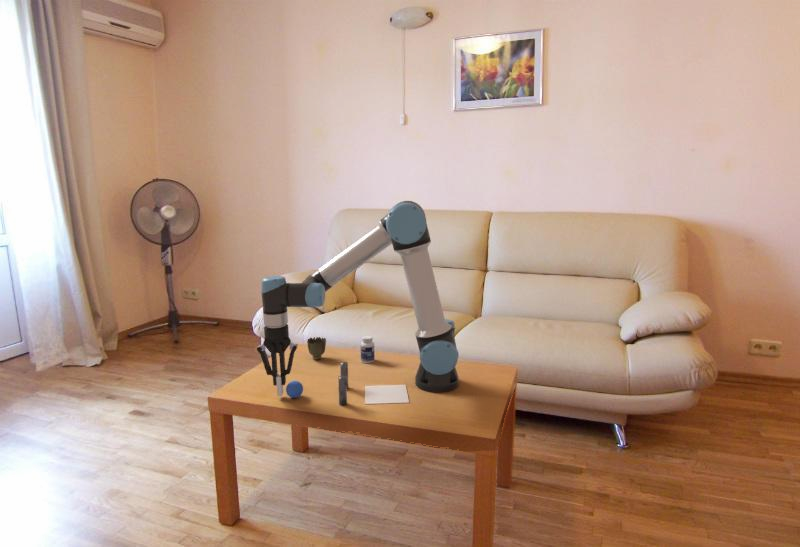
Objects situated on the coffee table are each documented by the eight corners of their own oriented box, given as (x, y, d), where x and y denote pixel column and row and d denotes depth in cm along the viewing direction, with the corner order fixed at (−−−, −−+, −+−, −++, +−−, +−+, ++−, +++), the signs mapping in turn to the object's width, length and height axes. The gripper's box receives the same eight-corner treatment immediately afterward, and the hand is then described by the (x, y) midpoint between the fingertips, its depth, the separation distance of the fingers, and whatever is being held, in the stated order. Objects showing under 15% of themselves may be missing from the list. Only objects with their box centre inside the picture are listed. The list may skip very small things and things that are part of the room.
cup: (324, 362, 198) (324, 342, 197) (306, 362, 198) (305, 342, 197) (327, 355, 206) (327, 336, 204) (309, 355, 206) (309, 336, 204)
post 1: (348, 386, 175) (347, 361, 174) (348, 389, 173) (347, 364, 171) (341, 386, 175) (340, 361, 174) (340, 389, 173) (340, 364, 171)
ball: (304, 393, 170) (303, 377, 169) (302, 400, 164) (301, 384, 163) (287, 393, 170) (286, 378, 168) (285, 401, 164) (284, 385, 163)
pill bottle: (359, 362, 197) (358, 338, 196) (363, 358, 203) (362, 334, 201) (372, 364, 196) (372, 339, 194) (376, 359, 201) (375, 335, 200)
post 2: (347, 402, 163) (346, 375, 162) (346, 405, 161) (346, 378, 159) (339, 402, 163) (338, 375, 161) (338, 405, 161) (338, 378, 159)
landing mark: (405, 385, 176) (405, 384, 176) (409, 402, 163) (409, 402, 163) (365, 386, 175) (365, 385, 175) (365, 404, 162) (365, 403, 162)
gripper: (298, 320, 166) (301, 388, 171) (257, 322, 165) (262, 390, 170) (295, 327, 159) (299, 398, 163) (252, 328, 158) (257, 399, 162)
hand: (280, 394), depth 166 cm, fingers closed
